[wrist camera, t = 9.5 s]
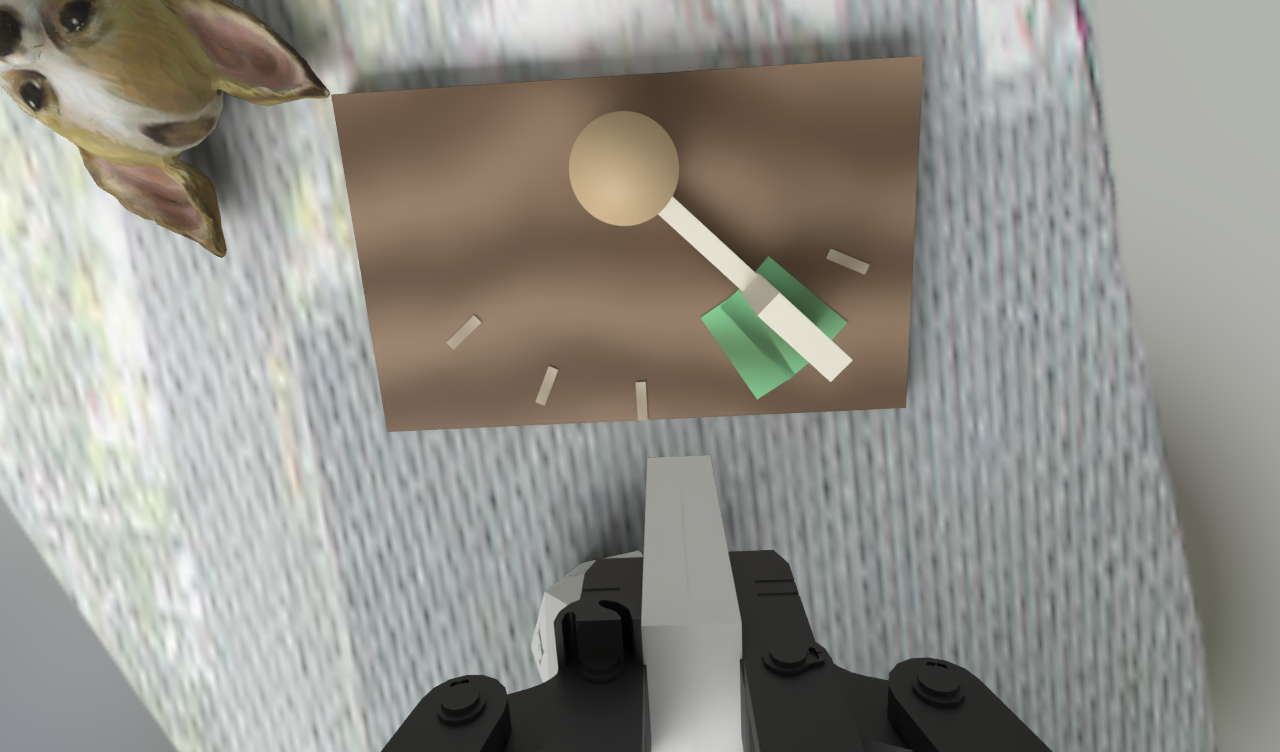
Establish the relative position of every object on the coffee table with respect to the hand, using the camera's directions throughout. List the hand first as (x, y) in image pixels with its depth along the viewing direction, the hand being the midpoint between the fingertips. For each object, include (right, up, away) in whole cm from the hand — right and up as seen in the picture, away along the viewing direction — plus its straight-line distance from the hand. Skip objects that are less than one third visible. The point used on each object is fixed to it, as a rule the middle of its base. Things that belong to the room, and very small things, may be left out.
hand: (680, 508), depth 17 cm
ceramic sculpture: (-23, +17, +16) cm, 33 cm away
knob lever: (+2, +9, +15) cm, 18 cm away
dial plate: (-1, +9, +17) cm, 20 cm away
